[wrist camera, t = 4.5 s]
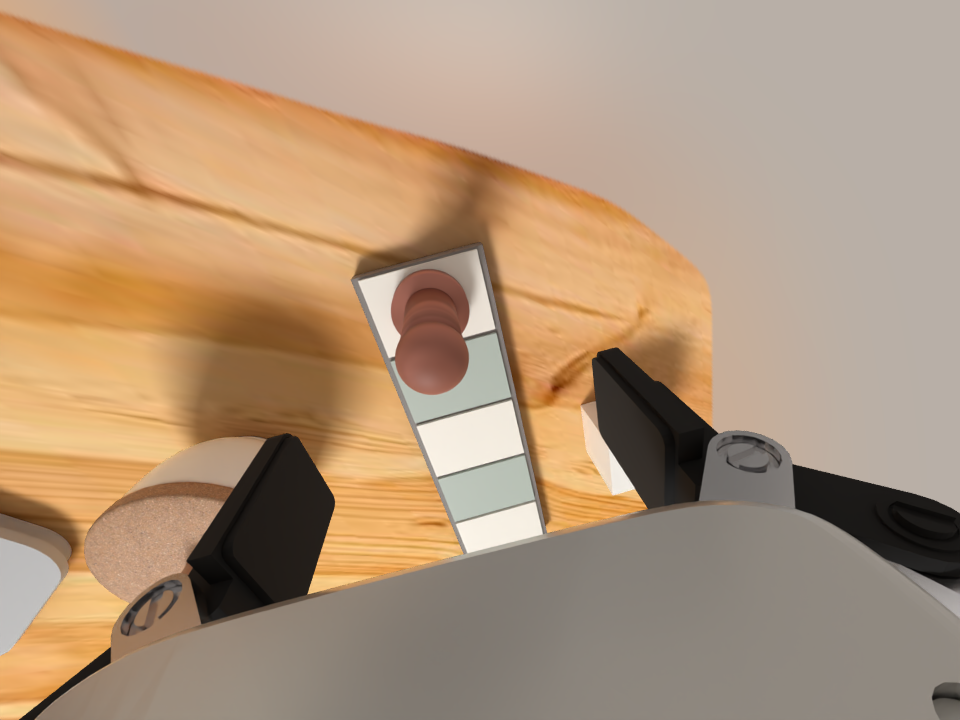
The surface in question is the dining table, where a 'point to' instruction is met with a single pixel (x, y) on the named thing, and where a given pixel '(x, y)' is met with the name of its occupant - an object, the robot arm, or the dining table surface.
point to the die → (602, 452)
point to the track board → (465, 409)
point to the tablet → (27, 574)
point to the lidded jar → (165, 515)
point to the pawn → (430, 331)
